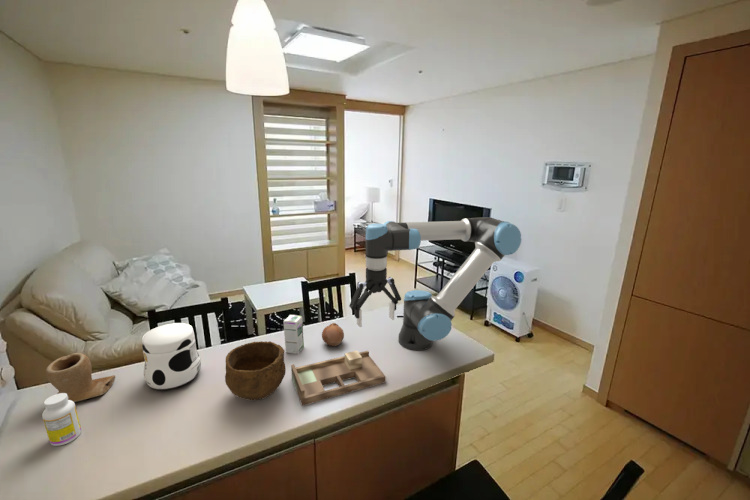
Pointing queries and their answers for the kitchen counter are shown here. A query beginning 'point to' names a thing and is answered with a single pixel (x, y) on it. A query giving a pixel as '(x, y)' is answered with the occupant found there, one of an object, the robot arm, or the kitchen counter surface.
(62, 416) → the supplement bottle
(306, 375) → the board
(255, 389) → the bowl
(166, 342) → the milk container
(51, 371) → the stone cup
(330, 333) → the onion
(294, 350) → the syrup box
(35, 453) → the kitchen counter surface
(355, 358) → the maple block
